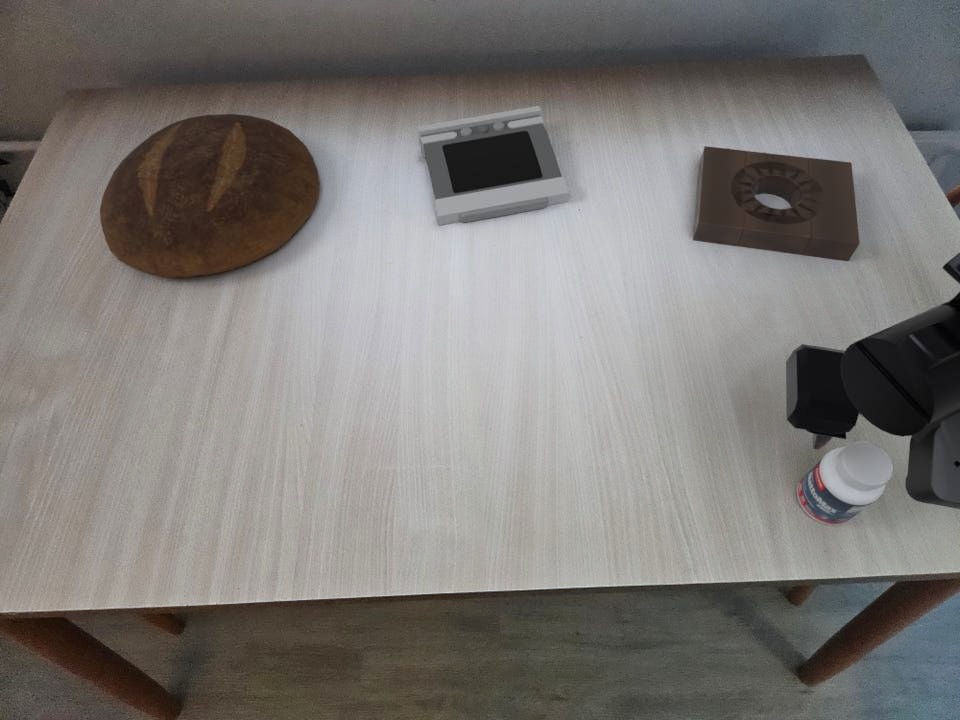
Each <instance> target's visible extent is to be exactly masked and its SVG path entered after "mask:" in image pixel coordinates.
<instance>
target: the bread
mask: <svg viewBox="0 0 960 720" xmlns="http://www.w3.org/2000/svg"><path fill="white" fill-rule="evenodd" d="M320 184H321V183H320V176H319V170H318V168H317V165H316V162H315V160H314V157H313V155H312V154H311V152H310V150H309V149H308V147H307V146H306V144H305V143H304V142H303V141H302V140H301V139H300V138H299V137H298V136H296V135H295V134H294V133H293V132H292V131H291V130H290V129H288V128H286V127H284V126H282V125H280V124H278V123H276V122H274V121H271V120H270V119H267V118H262V117H257V116H255V115H254V116H253V115H247V114H235V113H222V114H221V113H219V114H205V115H198V116H192V117H187V118H184V119H181V120H179V121H175V122H173V123H170V124H168V125H166V126H165V127H163V128H161V129H159V130H158V131H156V132H154V133H152V134H151V135H150V136H148V137H147V138H146V139H145V140H143V141H142V142H141V143H140V144H138V145H137V146H136V147H134V148H133V149H132V150H131V151H130V152H129V153H128V154H127V155H126V156H125V157H124V158H123V159H122V160H121V161H120V162H119V164H118V166H116V168H115V170H114V171H113V173H112V175H111V176H110V179H109V181H108V182H107V184H106V188H105V189H104V192H103V195H102V198H101V203H100V207H99V219H100V224H101V228H102V233H103V236H104V239H105V242H106V244H107V247H108V248H109V250H110V252H111V253H112V254H113V255H114V257H115V258H116V259H117V260H118V261H119V262H121V263H122V264H124V265H127V266H129V267H130V268H132V269H134V270H136V271H139V272H142V273H145V274H148V275H153V276H156V277H166V278H187V277H196V276H197V277H198V276H206V275H214V274H219V273H224V272H228V271H232V270H234V269H237V268H240V267H243V266H246V265H249V264H250V263H253V262H256V261H257V260H260V259H262V258H264V257H266V256H267V255H270V254H272V253H273V252H275V251H277V250H278V249H279V248H280V247H282V246H283V245H284V244H285V243H286V242H288V241H289V240H290V239H291V238H293V236H294V235H295V234H296V233H297V232H298V231H299V230H300V228H301V227H302V226H303V225H304V224H305V223H306V221H307V220H308V219H309V218H310V216H311V214H312V213H313V211H314V210H315V208H316V205H317V202H318V199H319V194H320Z"/></svg>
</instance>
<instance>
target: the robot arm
mask: <svg viewBox="0 0 960 720" xmlns="http://www.w3.org/2000/svg"><path fill="white" fill-rule="evenodd" d="M942 269H943V270H944V272H946V273H947V274H948V275H949V276H950V277H951V278H952V279H953V280H955V281H956V283H958V284H959V285H960V252H958V253H957V254H956V255H954V256H953V257H952V258H951V259H949V260H948V261H947V262H946V263H944V265H942ZM785 386H786V387H785V391H786V392H785V393H786V395H785V397H786V398H785V399H786V401H785V402H786V421H787V422H788V423H789V424H790V425H791V426H792V427H793V428H794V429H798V430H804V431H806V433H810V434H812V449H813V450H817V451H818V450H821V449H822V448H824V447H825V446H826V445H827V444H828V443H830V441H831V440H832V439H833V438H836V439H842V440H847V433H849V432H851V431H852V430H853V429H854V427H856V426H857V421H858V419H859V416H862V417H863V418H864V419H866V421H868V423H870V424H871V425H872V426H874V427H876V428H877V429H879V430H880V431H882V432H884V433H887V434H889V435H892V436H896V437H897V436H898V437H909V436H910V439H909V447H908V448H909V449H908V450H909V451H908V463H907V475H906V476H905V483H904V485H905V491H906V492H907V495H908V496H909V497H910V498H911V499H912V500H914V501H916V502H918V503H924V504H929V505H935V506H941V507H946V508H951V509H955V510H956V509H957V510H960V291H959V292H958V293H957V294H956V295H955V296H954V297H953V298H951V299H950V300H949V301H946V302H943V303H941V304H939V305H936V306H934V307H932V308H929V309H927V310H925V311H923V312H920V313H918V314H916V315H913V316H911V317H909V318H907V319H904V320H901V321H900V322H898V323H896V324H893V325H891V326H889V327H886V328H884V329H882V330H880V331H877V332H875V333H873V334H870V335H868V336H866V337H864V338H861V339H859V340H857V341H855V342H853V343H851V344H849V346H848V347H846V349H845V350H843V349H836V348H830V347H823V346H816V345H810V344H806V343H805V344H804V343H802V344H800V345H799V346H798V347H796V348H794V350H792V352H791V354H790V355H789V357H788V358H787V360H786V361H785Z"/></svg>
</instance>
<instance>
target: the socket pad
mask: <svg viewBox="0 0 960 720" xmlns="http://www.w3.org/2000/svg"><path fill="white" fill-rule="evenodd" d="M761 194H768V195H769V194H770V195H775V196H777V197H780V198H782V199H784V200H785V201H786V202H787V203H789V205H790V206H791V207H789V208H783V209H782V208H775V207H770V206H768V205H767V204H763V203H762V202H761V201H760V200H759V199H757V198H756V195H761ZM855 194H856V193H855V183H854V174H853V163H852V162H850V161H841V160H832V159H825V158H814V157H805V156H797V155H796V156H795V155H786V154H777V153H769V152H760V151H759V152H758V151H750V150H741V149H733V148H726V147H725V148H723V147H717V146H716V147H715V146H706V145H705V146H704V147H703V150H702V153H701V156H700V160H699V162H698V173H697V184H696V197H695V198H696V199H695V208H694V209H695V210H694V221H693V233H692V241H696V242H704V243H712V244H718V245H724V246H732V247H743V248H749V249H755V250H764V251H773V252H779V253H780V252H781V253H787V254H795V255H800V256H801V255H802V256H808V257H814V258H823V259H830V260H837V261H845V262H849V261H850V260H851V258H852V256H853V254H854V253H855V252H856V250H857V249H858V247H859V245H860V234H859V225H858V224H859V223H858V213H857V203H856V195H855Z"/></svg>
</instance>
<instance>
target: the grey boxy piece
mask: <svg viewBox="0 0 960 720" xmlns="http://www.w3.org/2000/svg"><path fill="white" fill-rule="evenodd" d="M417 134H418V138H419V145H420V150H421V153H422V154H423V158H424V159H425V160H426V164H427V169H428V173H429V178H430V182H431V187H432V190H433V195H434V199H433V202H434V204H433V205H434V209H435V215H436V219H437V223H438V226H444V225H448V224H449V225H450V224H455V223H460V222H461V223H469V222H476V221H480V220H486V219H492V218H497V217H503V216H508V215H513V214H520V213H525V212H530V211H537V210H542V209H545V208H547V206H552V205H553V206H554V205H557V204H558V205H559V204H564V203H568V202H569V199H570V194H571V192H570V189H569V186H568V183H567V178H566V176H565V175H563V176H562V173H561V169H560V167H559V163H558V160H557V157H556V153H555V151H554V148H553V145H552V143H551V140H550V138H549V135H548V132H547V130H546V128H545V121H544V119H543V117H542V109H541V107H540V105H536V106H529V107H523V108H519V109H511V110H506V111H500V112H494V113H489V114H484V115H478V116H472V117H471V116H470V117H467V118H460V119H454V120H448V121H443V122H437V123H432V124H431V123H430V124H426V125H419V126H417Z"/></svg>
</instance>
